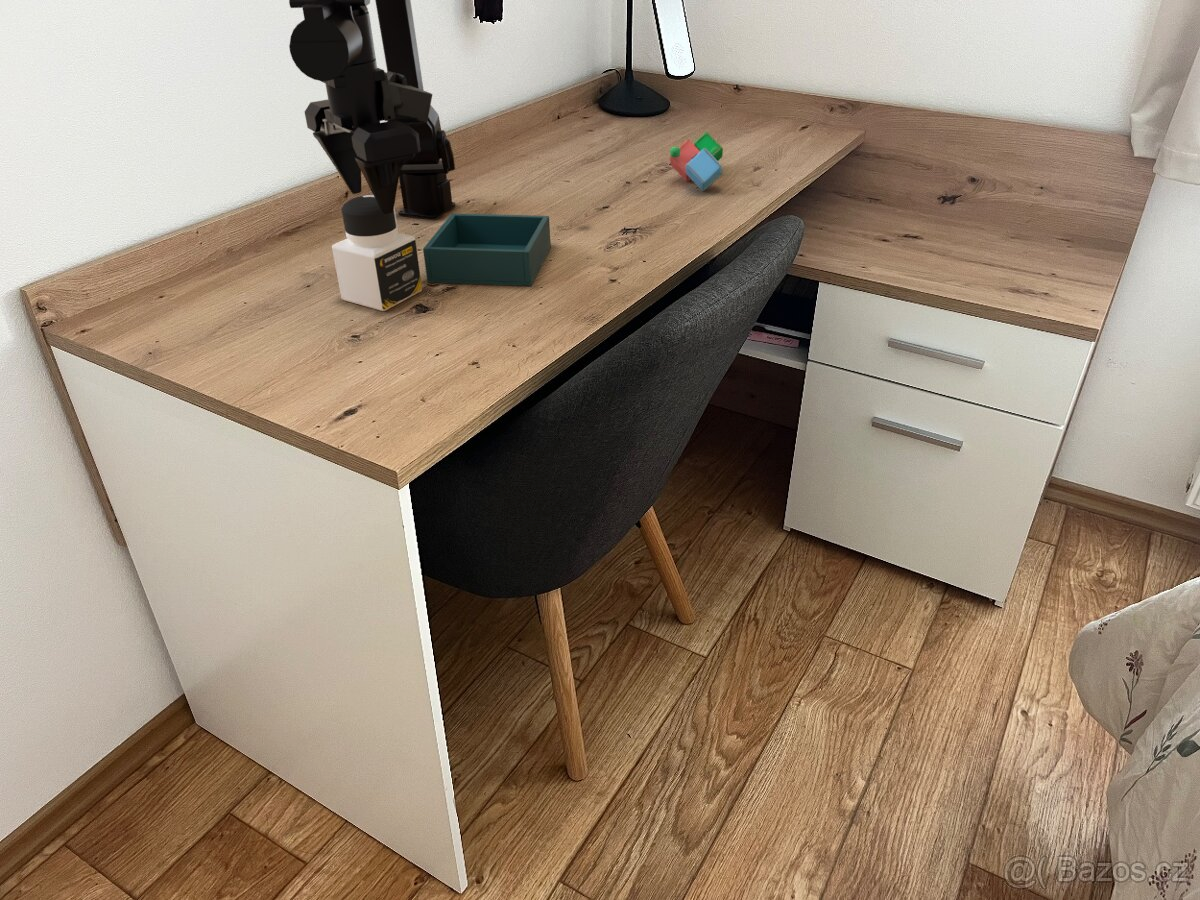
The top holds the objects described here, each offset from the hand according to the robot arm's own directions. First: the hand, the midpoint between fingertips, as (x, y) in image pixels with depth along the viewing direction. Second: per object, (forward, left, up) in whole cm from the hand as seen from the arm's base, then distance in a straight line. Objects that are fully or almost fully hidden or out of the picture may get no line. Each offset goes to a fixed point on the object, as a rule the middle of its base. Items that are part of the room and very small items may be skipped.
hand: (372, 202), depth 109 cm
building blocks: (+26, +54, -12) cm, 61 cm away
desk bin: (+8, +13, -12) cm, 19 cm away
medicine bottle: (0, 0, -12) cm, 12 cm away
